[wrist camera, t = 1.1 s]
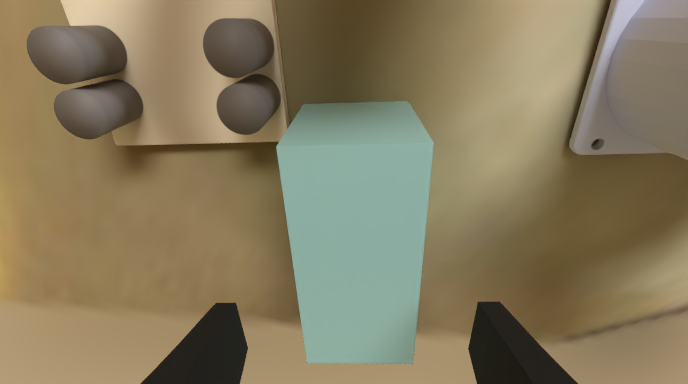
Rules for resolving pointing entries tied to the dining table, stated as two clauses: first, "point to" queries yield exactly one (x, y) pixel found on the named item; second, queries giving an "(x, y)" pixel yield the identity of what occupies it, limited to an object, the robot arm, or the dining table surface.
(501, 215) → the dining table surface
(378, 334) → the block
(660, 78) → the robot arm
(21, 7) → the dining table surface
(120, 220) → the dining table surface
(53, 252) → the dining table surface
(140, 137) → the stand
